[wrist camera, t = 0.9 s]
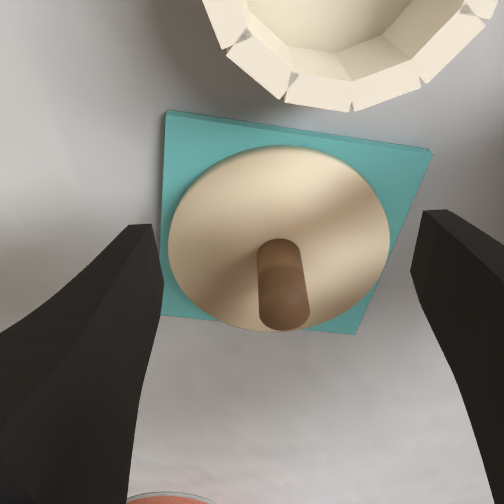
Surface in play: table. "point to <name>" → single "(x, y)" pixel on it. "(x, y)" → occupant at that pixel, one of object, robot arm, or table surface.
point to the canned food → (167, 498)
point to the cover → (278, 238)
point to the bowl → (344, 45)
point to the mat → (257, 135)
